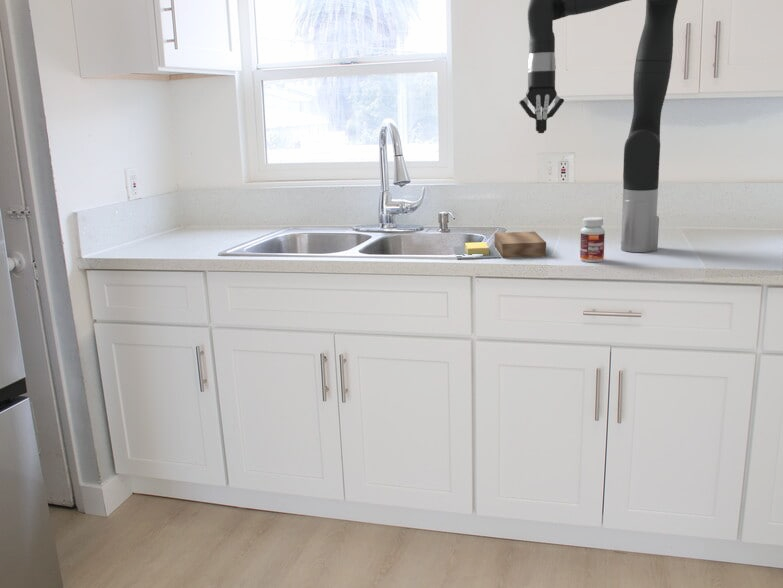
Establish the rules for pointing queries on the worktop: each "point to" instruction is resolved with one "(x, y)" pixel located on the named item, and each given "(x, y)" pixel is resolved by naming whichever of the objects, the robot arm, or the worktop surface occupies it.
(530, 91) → the robot arm
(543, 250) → the brown wooden block
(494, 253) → the mat
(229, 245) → the worktop surface
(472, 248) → the yellow rectangular block
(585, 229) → the pill bottle
